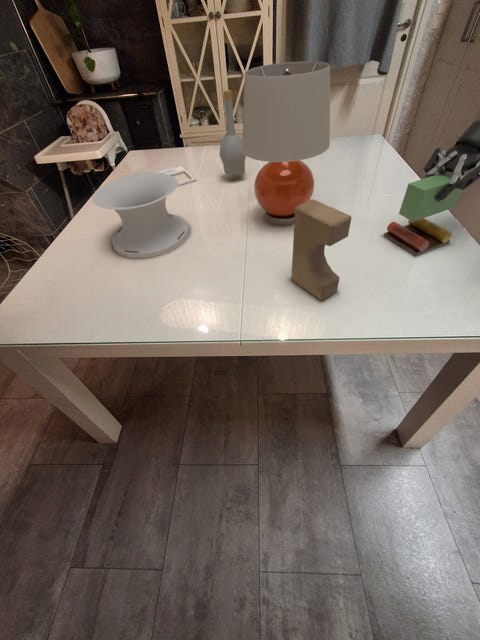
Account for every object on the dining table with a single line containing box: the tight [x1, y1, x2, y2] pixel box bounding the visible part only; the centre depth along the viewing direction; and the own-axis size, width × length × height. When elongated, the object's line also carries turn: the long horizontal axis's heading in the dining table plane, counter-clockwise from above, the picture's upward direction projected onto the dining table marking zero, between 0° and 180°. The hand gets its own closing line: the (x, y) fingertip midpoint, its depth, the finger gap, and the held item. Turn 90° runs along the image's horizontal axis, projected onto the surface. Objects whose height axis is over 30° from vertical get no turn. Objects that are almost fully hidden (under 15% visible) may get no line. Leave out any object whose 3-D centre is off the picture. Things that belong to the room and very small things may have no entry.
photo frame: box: [156, 165, 196, 186], centre depth 131 cm, size 15×1×18 cm
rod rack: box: [383, 218, 453, 257], centre depth 84 cm, size 12×12×4 cm
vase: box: [91, 171, 190, 259], centre depth 93 cm, size 25×25×16 cm
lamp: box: [241, 60, 331, 227], centre depth 86 cm, size 25×25×39 cm
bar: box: [398, 172, 467, 222], centre depth 76 cm, size 5×14×8 cm, turn 114°
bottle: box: [219, 89, 247, 180], centre depth 115 cm, size 11×11×30 cm
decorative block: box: [290, 198, 352, 302], centre depth 68 cm, size 11×6×20 cm, turn 34°
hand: (427, 195), depth 75 cm, fingers closed on bar, 5 cm apart
